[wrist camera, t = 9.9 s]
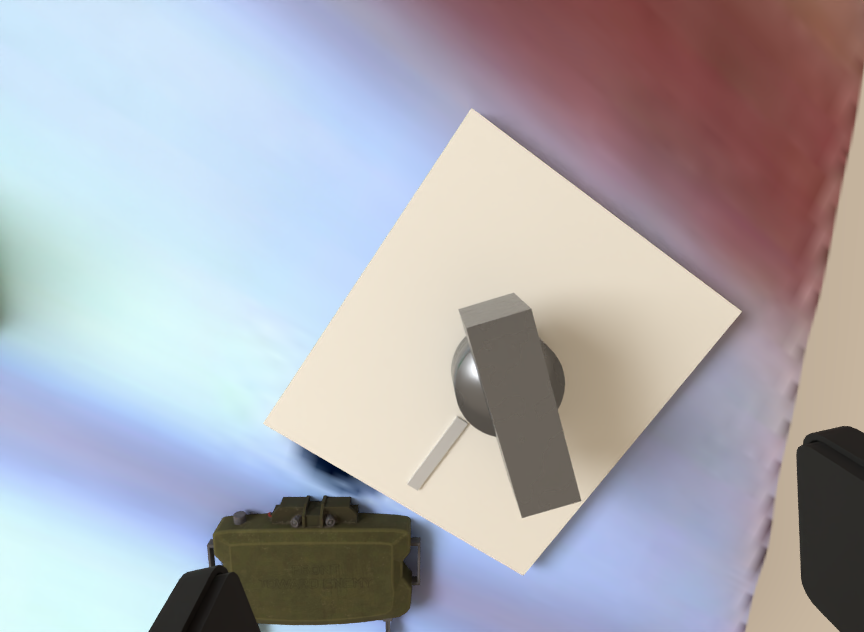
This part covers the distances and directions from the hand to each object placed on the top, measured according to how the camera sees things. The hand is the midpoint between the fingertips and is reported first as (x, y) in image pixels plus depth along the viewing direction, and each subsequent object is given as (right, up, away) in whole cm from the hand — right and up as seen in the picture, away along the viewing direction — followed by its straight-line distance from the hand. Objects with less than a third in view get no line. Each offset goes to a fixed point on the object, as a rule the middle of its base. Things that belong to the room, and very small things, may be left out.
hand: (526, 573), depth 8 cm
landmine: (-10, -15, +27) cm, 33 cm away
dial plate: (+2, +1, +23) cm, 23 cm away
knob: (+3, 0, +22) cm, 22 cm away
